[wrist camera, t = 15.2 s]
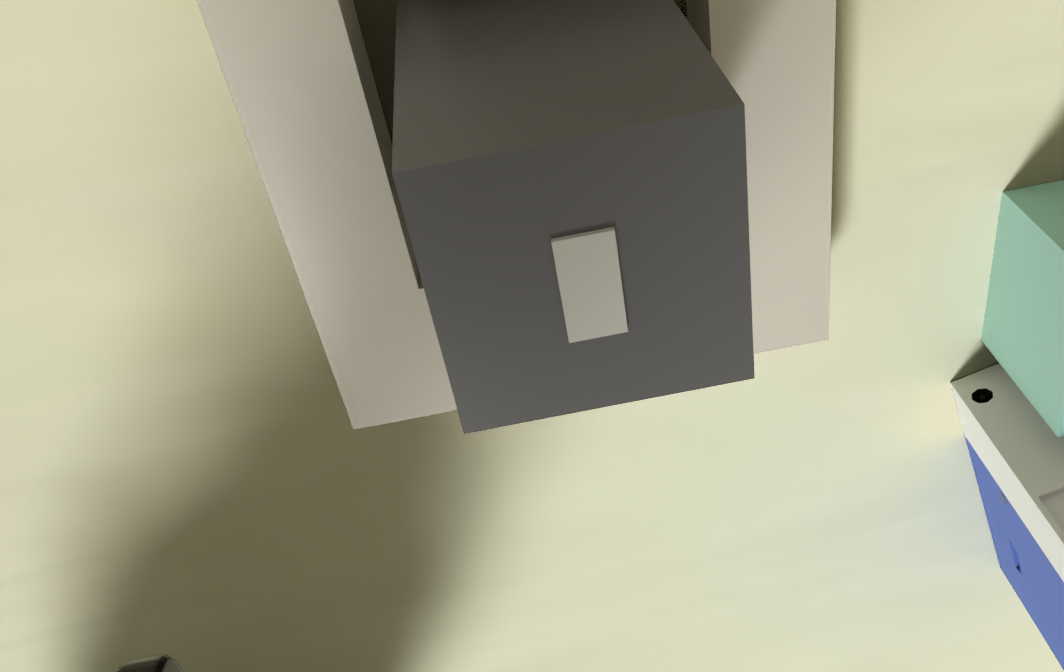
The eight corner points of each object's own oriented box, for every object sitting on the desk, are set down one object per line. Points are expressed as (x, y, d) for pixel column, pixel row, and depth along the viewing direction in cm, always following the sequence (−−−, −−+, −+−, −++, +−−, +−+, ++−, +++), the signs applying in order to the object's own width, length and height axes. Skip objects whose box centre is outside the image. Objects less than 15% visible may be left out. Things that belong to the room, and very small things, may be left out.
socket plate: (800, 291, 22) (828, 339, 20) (357, 376, 22) (353, 430, 21) (801, -365, 15) (845, -364, 13) (146, -234, 15) (116, -217, 13)
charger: (655, 159, 20) (756, 381, 14) (447, 199, 20) (464, 437, 14) (634, -57, 17) (746, 105, 12) (396, -11, 17) (391, 176, 12)
